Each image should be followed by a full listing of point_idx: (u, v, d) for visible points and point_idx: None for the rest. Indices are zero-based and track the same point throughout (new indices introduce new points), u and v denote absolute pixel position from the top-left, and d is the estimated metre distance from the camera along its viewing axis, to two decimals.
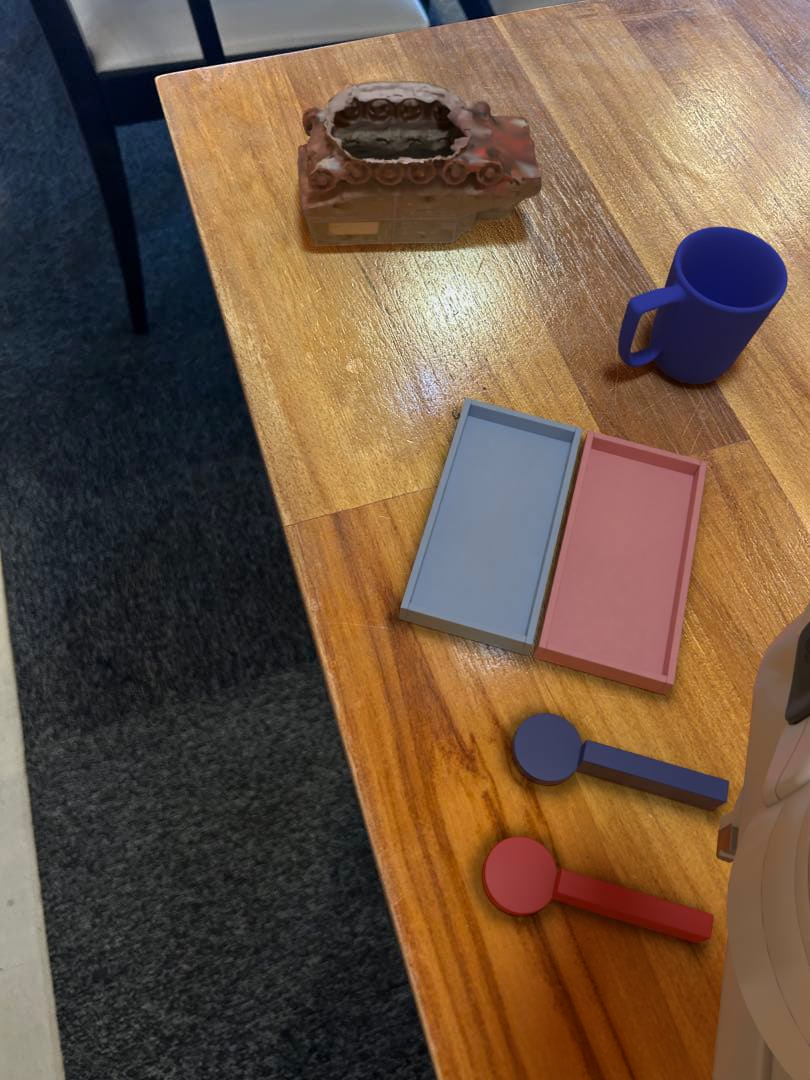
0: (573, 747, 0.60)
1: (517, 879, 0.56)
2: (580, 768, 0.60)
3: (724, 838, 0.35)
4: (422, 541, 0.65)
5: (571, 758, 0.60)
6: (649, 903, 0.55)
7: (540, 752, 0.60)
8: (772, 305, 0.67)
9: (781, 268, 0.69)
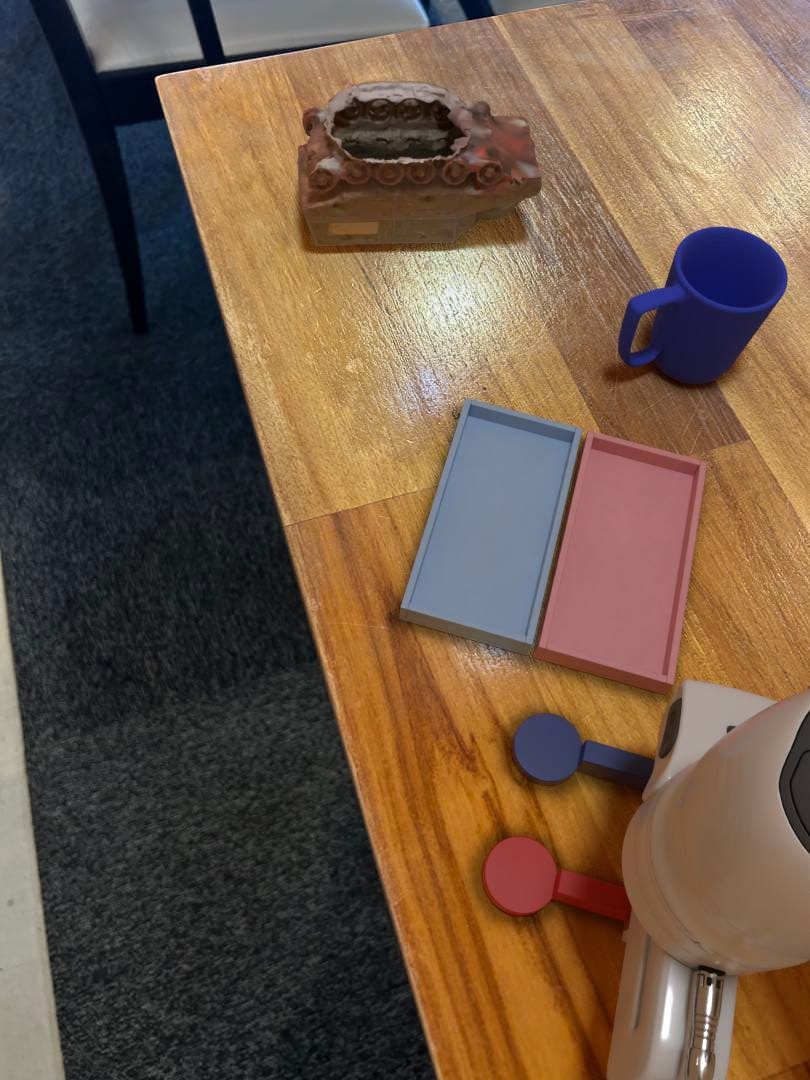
0: (573, 747, 0.60)
1: (517, 879, 0.56)
2: (580, 768, 0.60)
3: None
4: (422, 541, 0.65)
5: (571, 758, 0.60)
6: None
7: (540, 752, 0.60)
8: (772, 305, 0.67)
9: (781, 268, 0.69)
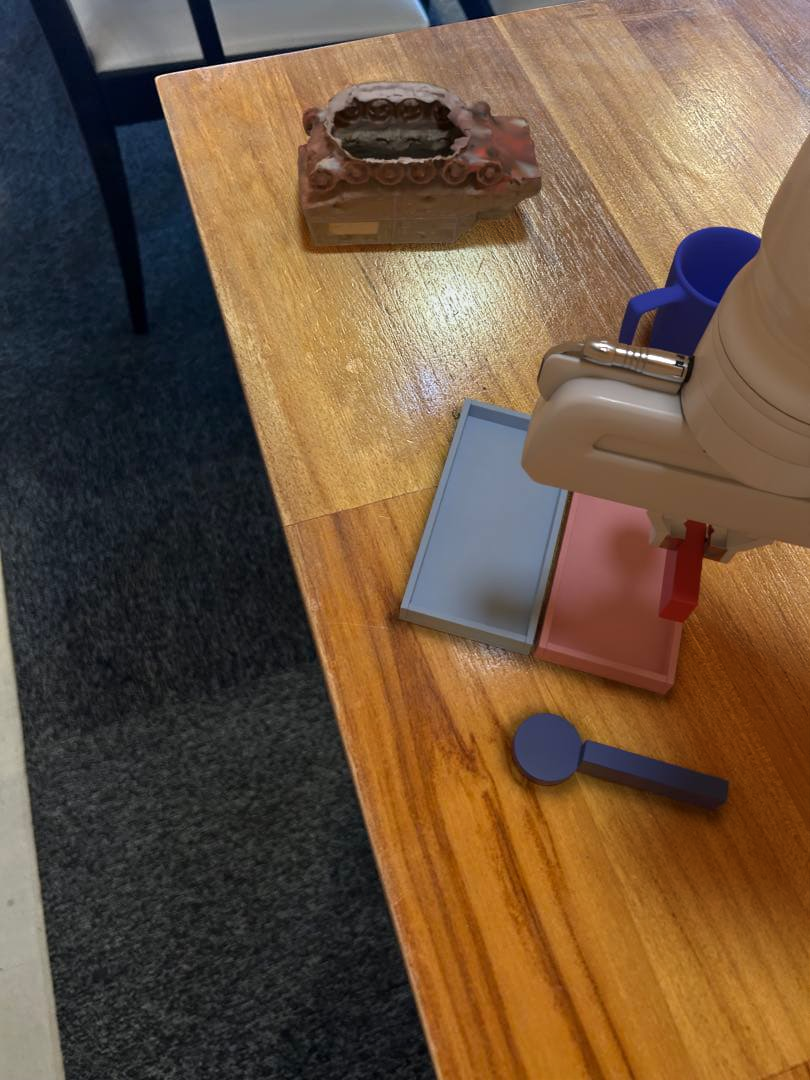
0: (573, 747, 0.60)
1: None
2: (580, 768, 0.60)
3: None
4: (422, 541, 0.65)
5: (571, 758, 0.60)
6: (696, 541, 0.51)
7: (540, 752, 0.60)
8: None
9: None
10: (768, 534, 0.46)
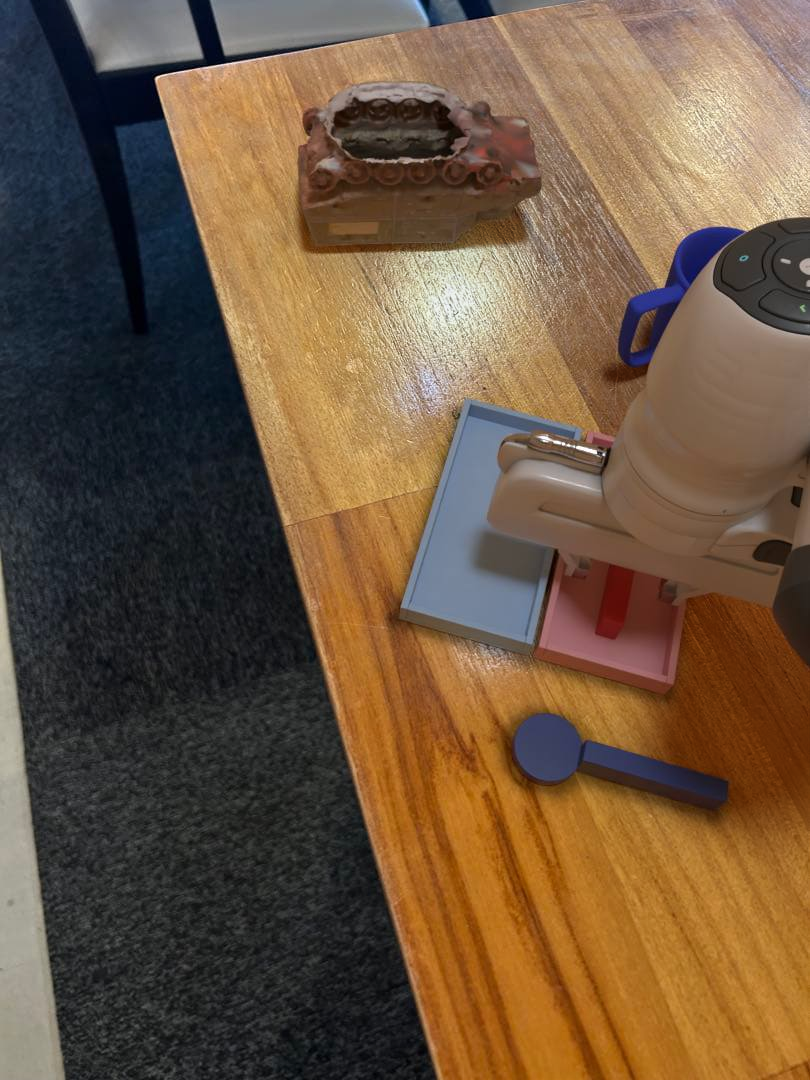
0: (573, 747, 0.60)
1: None
2: (580, 768, 0.60)
3: None
4: (422, 541, 0.65)
5: (571, 758, 0.60)
6: (626, 575, 0.64)
7: (540, 752, 0.60)
8: None
9: None
10: (675, 578, 0.59)
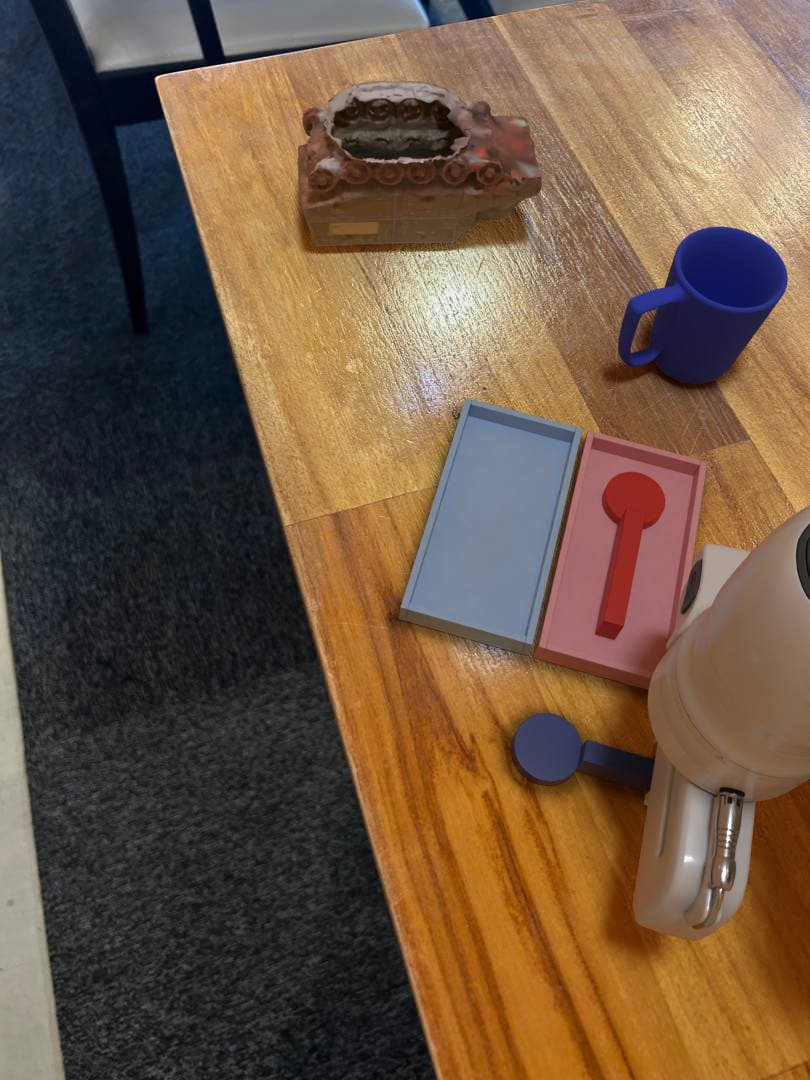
0: (573, 747, 0.60)
1: (631, 493, 0.69)
2: (580, 768, 0.60)
3: (655, 748, 0.59)
4: (422, 541, 0.65)
5: (571, 758, 0.60)
6: (626, 575, 0.64)
7: (540, 752, 0.60)
8: (772, 305, 0.67)
9: (781, 268, 0.69)
10: None
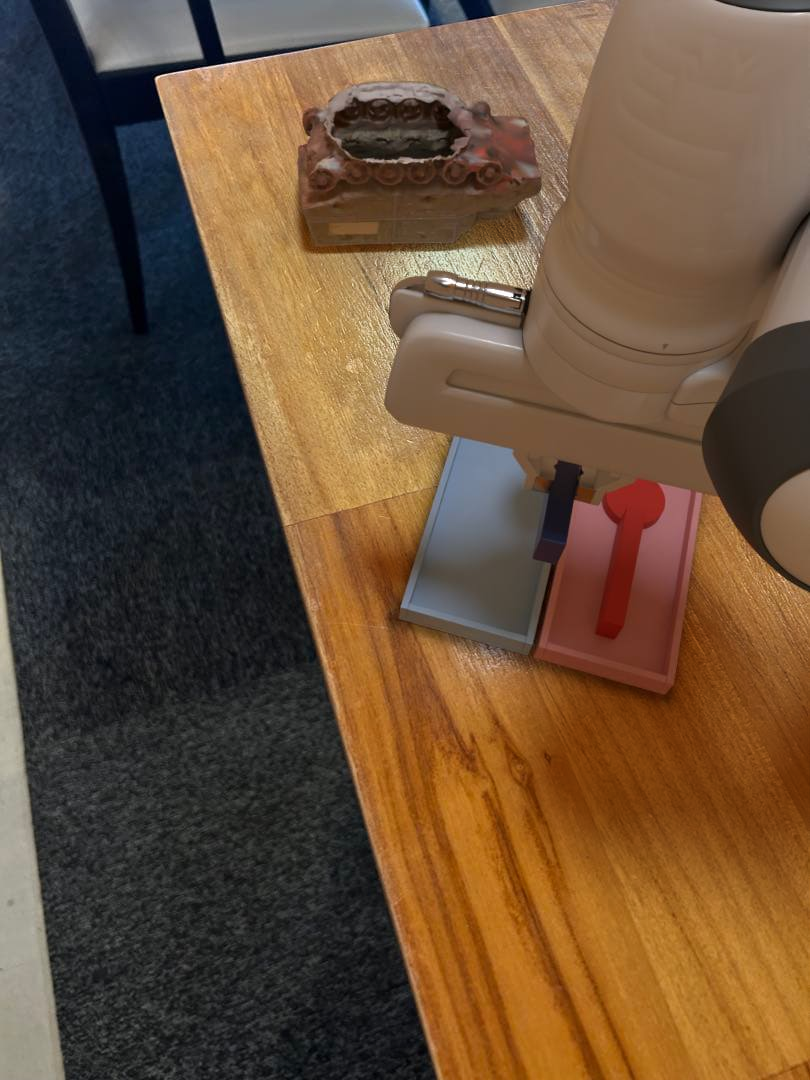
0: None
1: (631, 493, 0.69)
2: None
3: None
4: (422, 541, 0.65)
5: None
6: (626, 575, 0.64)
7: None
8: None
9: None
10: (625, 470, 0.47)
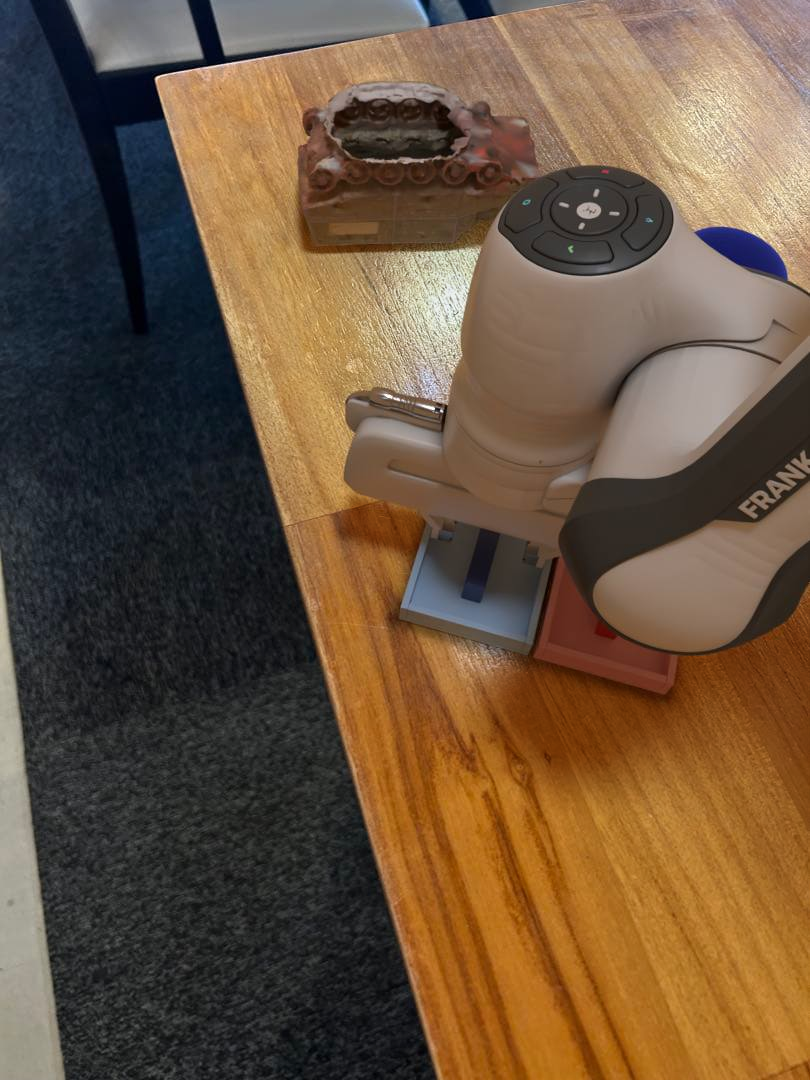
0: None
1: None
2: None
3: None
4: (422, 541, 0.65)
5: None
6: None
7: None
8: None
9: (781, 268, 0.69)
10: (528, 538, 0.60)
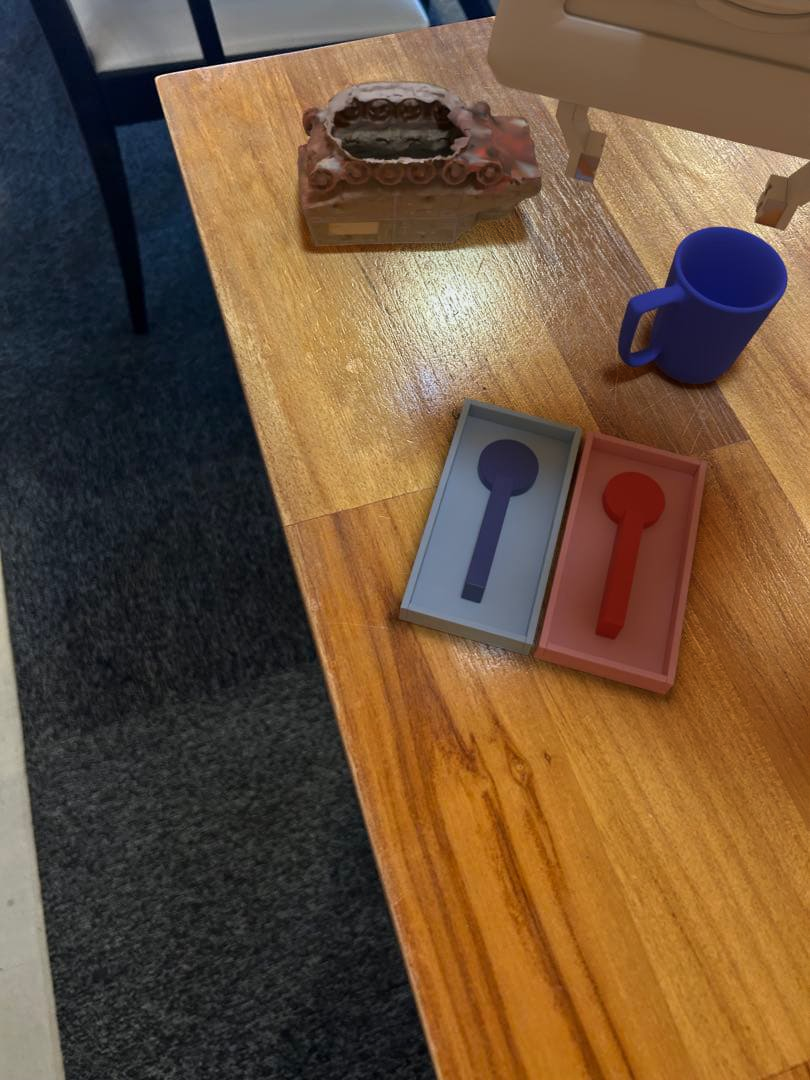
0: None
1: (631, 493, 0.69)
2: (492, 487, 0.68)
3: None
4: (422, 541, 0.65)
5: None
6: (626, 575, 0.64)
7: (503, 457, 0.70)
8: (772, 305, 0.67)
9: (781, 268, 0.69)
10: (759, 136, 0.41)
